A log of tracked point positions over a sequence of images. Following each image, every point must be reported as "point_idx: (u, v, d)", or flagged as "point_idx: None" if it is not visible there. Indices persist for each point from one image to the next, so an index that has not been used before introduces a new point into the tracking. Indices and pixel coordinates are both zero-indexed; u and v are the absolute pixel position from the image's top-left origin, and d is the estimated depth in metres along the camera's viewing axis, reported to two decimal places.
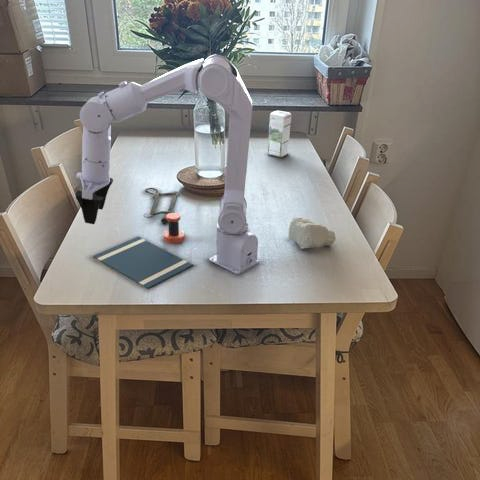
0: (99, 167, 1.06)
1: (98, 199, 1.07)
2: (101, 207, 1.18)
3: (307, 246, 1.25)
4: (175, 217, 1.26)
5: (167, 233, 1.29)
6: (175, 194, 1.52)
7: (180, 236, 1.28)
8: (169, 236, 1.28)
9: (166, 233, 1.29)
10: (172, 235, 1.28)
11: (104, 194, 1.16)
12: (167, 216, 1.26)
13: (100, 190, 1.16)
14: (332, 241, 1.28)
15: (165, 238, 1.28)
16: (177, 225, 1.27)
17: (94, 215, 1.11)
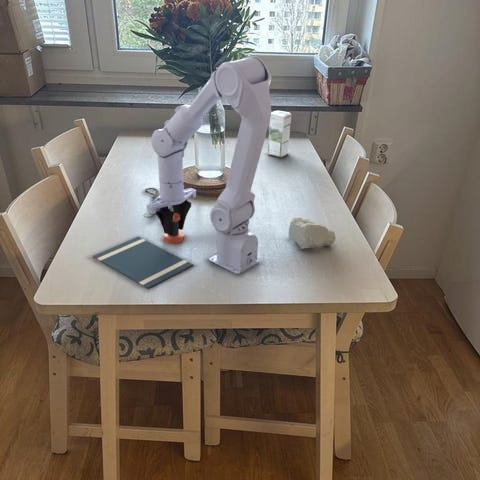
0: (167, 188, 1.19)
1: (166, 213, 1.21)
2: (180, 228, 1.29)
3: (307, 246, 1.25)
4: (175, 217, 1.26)
5: None
6: None
7: (180, 236, 1.28)
8: (169, 236, 1.28)
9: None
10: (172, 235, 1.28)
11: (182, 216, 1.27)
12: None
13: (179, 212, 1.27)
14: (332, 241, 1.28)
15: (165, 238, 1.28)
16: (177, 225, 1.27)
17: (168, 227, 1.25)
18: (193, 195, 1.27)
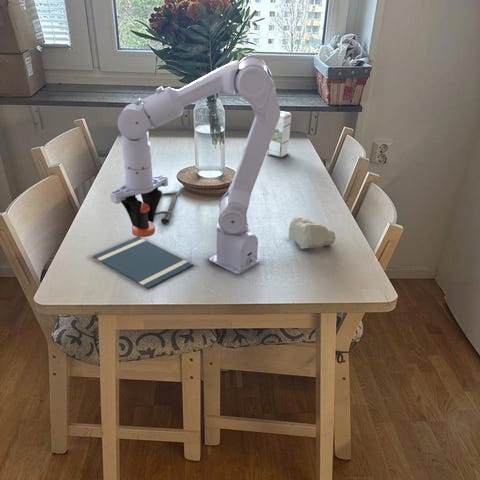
0: (133, 174, 1.06)
1: (133, 202, 1.09)
2: (150, 220, 1.16)
3: (307, 246, 1.25)
4: (143, 208, 1.13)
5: None
6: (175, 194, 1.52)
7: (150, 229, 1.15)
8: (138, 229, 1.15)
9: None
10: (141, 228, 1.15)
11: (151, 207, 1.14)
12: None
13: (148, 202, 1.14)
14: (332, 241, 1.28)
15: (133, 231, 1.16)
16: (146, 217, 1.14)
17: (136, 219, 1.12)
18: (164, 183, 1.15)
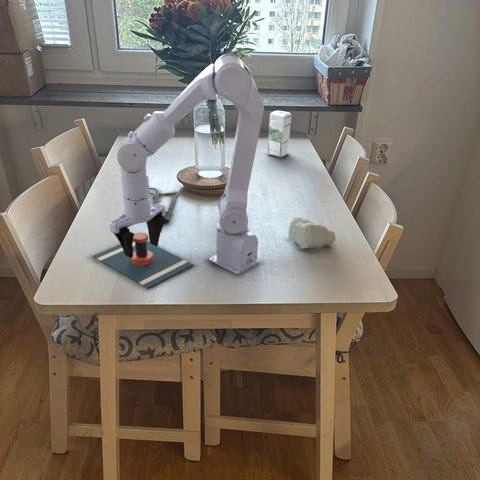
0: (132, 205, 1.09)
1: (125, 234, 1.10)
2: (155, 244, 1.20)
3: (307, 246, 1.25)
4: (142, 237, 1.16)
5: (134, 254, 1.20)
6: (175, 194, 1.52)
7: (148, 258, 1.18)
8: (137, 257, 1.18)
9: (133, 254, 1.20)
10: (139, 256, 1.18)
11: (156, 232, 1.18)
12: None
13: (153, 227, 1.18)
14: (332, 241, 1.28)
15: (132, 260, 1.19)
16: (145, 246, 1.17)
17: (128, 249, 1.14)
18: (162, 211, 1.17)
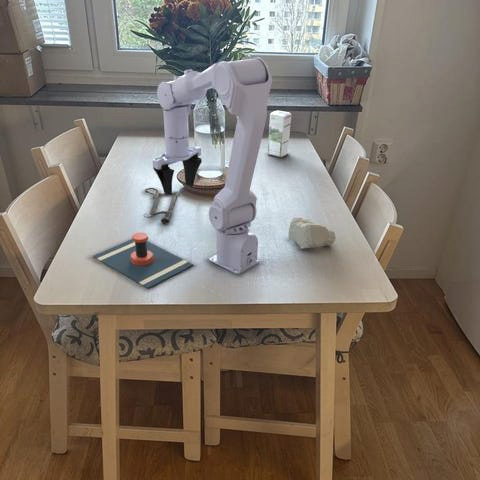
0: (173, 143, 1.20)
1: (166, 170, 1.21)
2: (190, 184, 1.31)
3: (307, 246, 1.25)
4: (142, 237, 1.16)
5: (134, 254, 1.20)
6: (175, 194, 1.52)
7: (148, 258, 1.18)
8: (137, 257, 1.18)
9: (133, 254, 1.20)
10: (139, 256, 1.18)
11: (192, 172, 1.29)
12: (133, 236, 1.16)
13: (189, 168, 1.29)
14: (332, 241, 1.28)
15: (132, 260, 1.19)
16: (145, 246, 1.17)
17: (168, 186, 1.25)
18: (198, 153, 1.28)
